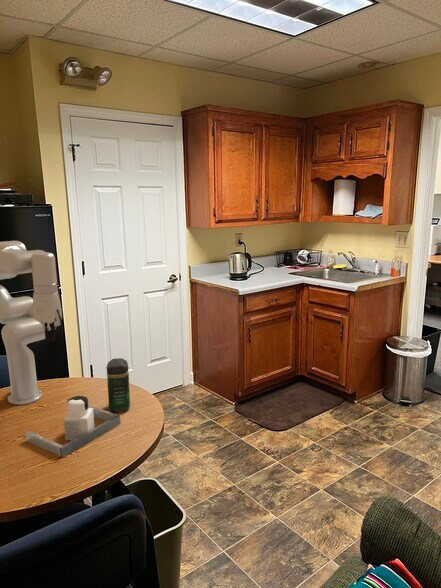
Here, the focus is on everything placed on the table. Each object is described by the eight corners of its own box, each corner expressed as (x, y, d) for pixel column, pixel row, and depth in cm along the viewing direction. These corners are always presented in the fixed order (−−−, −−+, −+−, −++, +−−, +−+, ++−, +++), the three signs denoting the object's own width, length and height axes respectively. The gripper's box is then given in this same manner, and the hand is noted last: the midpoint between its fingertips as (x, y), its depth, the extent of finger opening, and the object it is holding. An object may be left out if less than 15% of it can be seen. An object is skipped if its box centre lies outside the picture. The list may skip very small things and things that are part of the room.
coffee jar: (130, 412, 165) (127, 364, 161) (108, 414, 163) (105, 366, 159) (130, 400, 174) (127, 355, 170) (109, 402, 172) (106, 357, 168)
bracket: (26, 440, 146) (25, 432, 146) (85, 410, 166) (84, 403, 166) (63, 457, 137) (62, 448, 136) (120, 423, 157) (120, 415, 156)
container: (72, 428, 154) (69, 393, 151) (94, 428, 154) (92, 393, 151) (65, 440, 146) (61, 404, 143) (88, 440, 146) (85, 403, 143)
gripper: (22, 288, 153) (28, 339, 157) (50, 293, 145) (55, 347, 149) (41, 284, 159) (46, 334, 163) (69, 289, 151) (73, 340, 155)
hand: (50, 340), depth 156 cm, fingers closed
